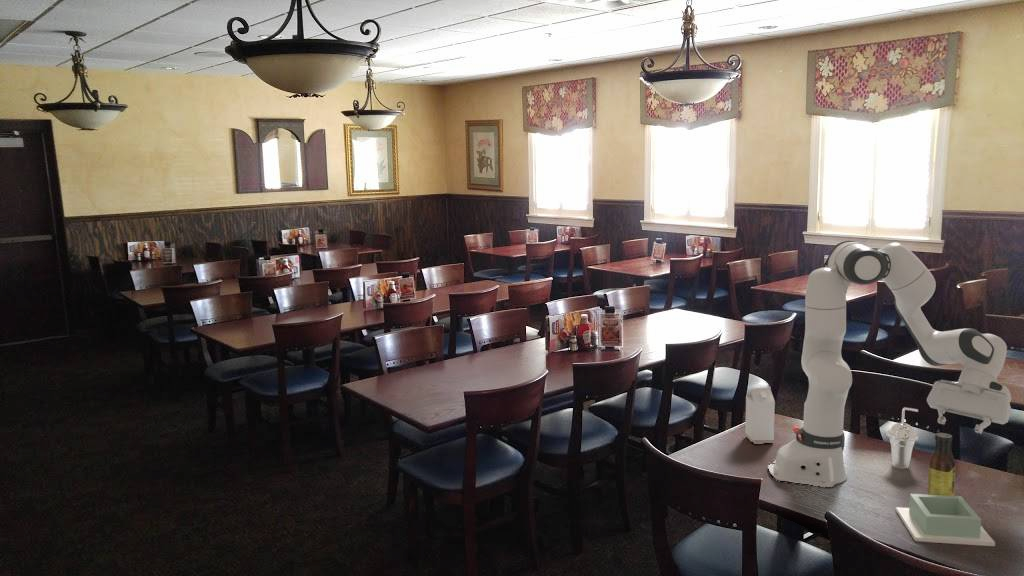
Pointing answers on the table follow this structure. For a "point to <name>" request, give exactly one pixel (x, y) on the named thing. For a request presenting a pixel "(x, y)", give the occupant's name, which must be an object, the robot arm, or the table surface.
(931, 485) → the sauce bottle
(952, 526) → the caddy
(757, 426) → the milk carton
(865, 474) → the table surface
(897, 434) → the cup with straw
